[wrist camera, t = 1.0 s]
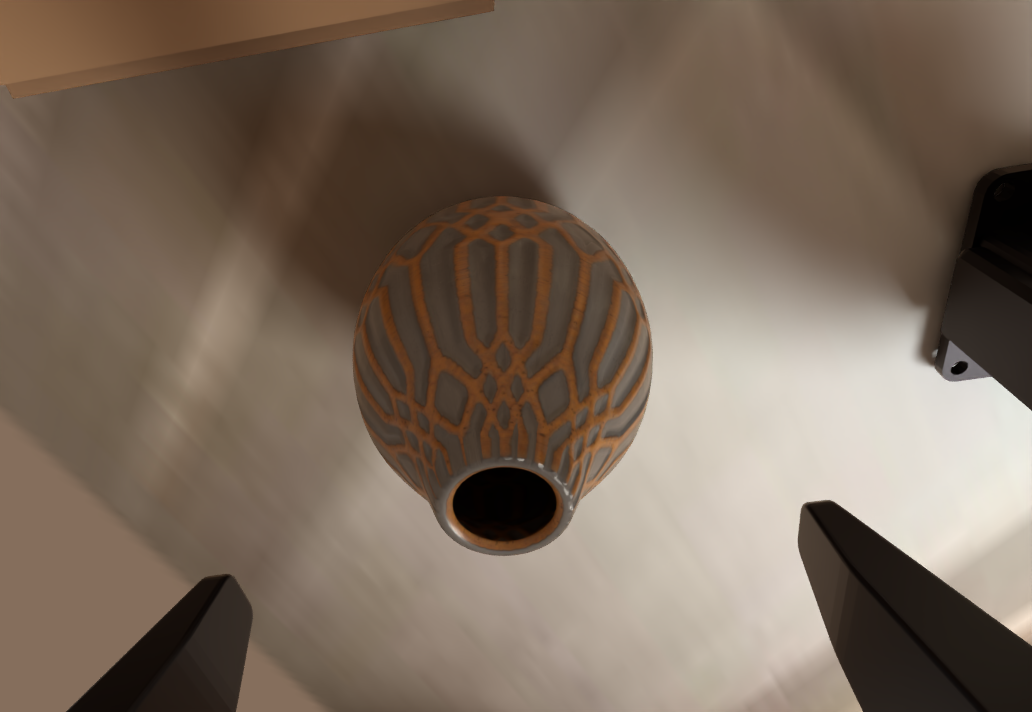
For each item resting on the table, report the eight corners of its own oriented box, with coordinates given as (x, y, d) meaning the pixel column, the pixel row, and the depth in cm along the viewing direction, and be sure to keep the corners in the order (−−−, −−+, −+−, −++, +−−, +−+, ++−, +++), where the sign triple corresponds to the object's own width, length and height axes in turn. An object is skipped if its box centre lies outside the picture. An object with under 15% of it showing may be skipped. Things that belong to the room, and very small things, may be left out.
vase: (671, 238, 18) (797, 445, 10) (546, 414, 21) (572, 670, 13) (445, 113, 16) (396, 254, 8) (345, 328, 19) (245, 570, 11)
